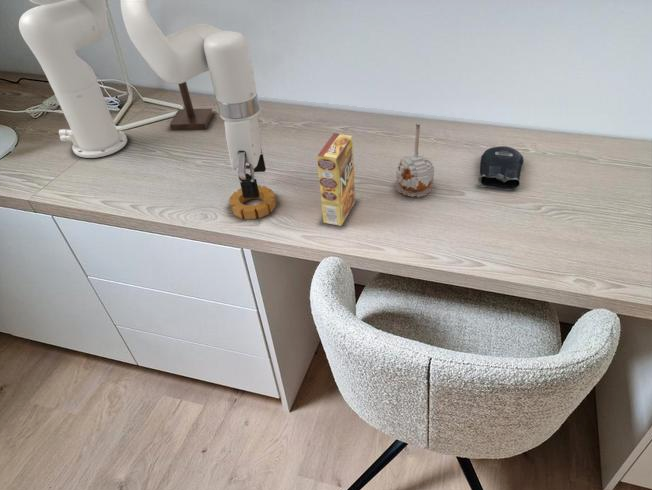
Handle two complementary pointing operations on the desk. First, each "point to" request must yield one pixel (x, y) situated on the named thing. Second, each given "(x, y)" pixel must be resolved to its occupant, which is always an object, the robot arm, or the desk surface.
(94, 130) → the robot arm
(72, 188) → the desk surface
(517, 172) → the electronic device
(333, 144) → the candy box
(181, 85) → the stand
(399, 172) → the caramel apple
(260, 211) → the ring
